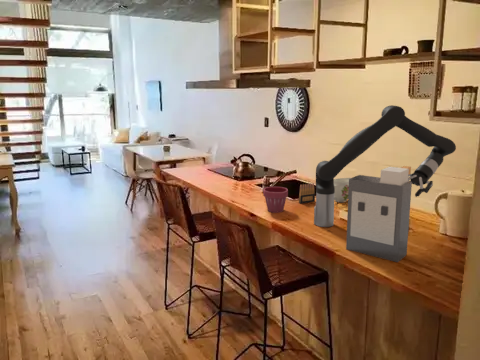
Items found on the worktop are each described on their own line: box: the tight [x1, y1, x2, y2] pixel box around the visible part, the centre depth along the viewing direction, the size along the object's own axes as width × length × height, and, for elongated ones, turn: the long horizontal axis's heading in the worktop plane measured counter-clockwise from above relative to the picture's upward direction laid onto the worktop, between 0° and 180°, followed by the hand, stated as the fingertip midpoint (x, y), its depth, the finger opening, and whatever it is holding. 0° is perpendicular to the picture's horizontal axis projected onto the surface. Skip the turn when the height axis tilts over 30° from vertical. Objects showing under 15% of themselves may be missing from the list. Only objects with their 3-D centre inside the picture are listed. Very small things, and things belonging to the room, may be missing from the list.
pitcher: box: [334, 177, 351, 203], centre depth 263 cm, size 11×18×14 cm, turn 122°
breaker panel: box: [345, 174, 413, 263], centre depth 181 cm, size 23×11×32 cm, turn 49°
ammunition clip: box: [298, 182, 316, 204], centre depth 263 cm, size 11×2×12 cm, turn 114°
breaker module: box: [379, 165, 412, 185], centre depth 177 cm, size 8×19×5 cm, turn 139°
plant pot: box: [263, 186, 289, 214], centre depth 246 cm, size 14×14×13 cm
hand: (407, 191), depth 201 cm, fingers open, 8 cm apart
